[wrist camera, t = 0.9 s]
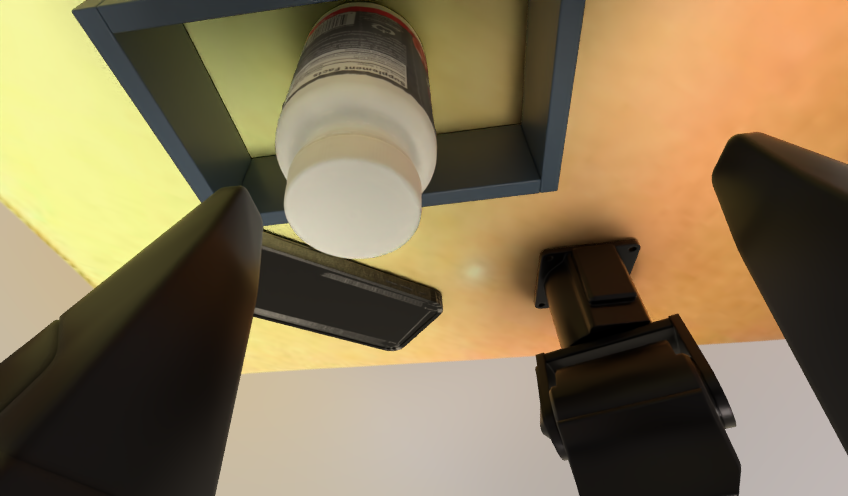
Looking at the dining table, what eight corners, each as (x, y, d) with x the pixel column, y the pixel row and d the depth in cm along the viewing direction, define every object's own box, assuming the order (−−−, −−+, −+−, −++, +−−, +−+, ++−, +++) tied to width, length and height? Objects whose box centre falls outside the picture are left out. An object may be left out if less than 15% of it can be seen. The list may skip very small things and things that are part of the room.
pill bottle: (421, 121, 21) (434, 276, 15) (311, 116, 21) (272, 273, 14) (432, 2, 17) (456, 140, 11) (296, -8, 17) (233, 130, 10)
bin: (535, 134, 22) (557, 191, 19) (243, 172, 23) (220, 231, 20) (556, -101, 15) (597, -71, 12) (131, -34, 16) (69, 10, 13)
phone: (396, 353, 36) (207, 305, 30) (396, 341, 37) (212, 292, 30) (450, 305, 31) (236, 236, 25) (448, 293, 32) (241, 222, 25)
